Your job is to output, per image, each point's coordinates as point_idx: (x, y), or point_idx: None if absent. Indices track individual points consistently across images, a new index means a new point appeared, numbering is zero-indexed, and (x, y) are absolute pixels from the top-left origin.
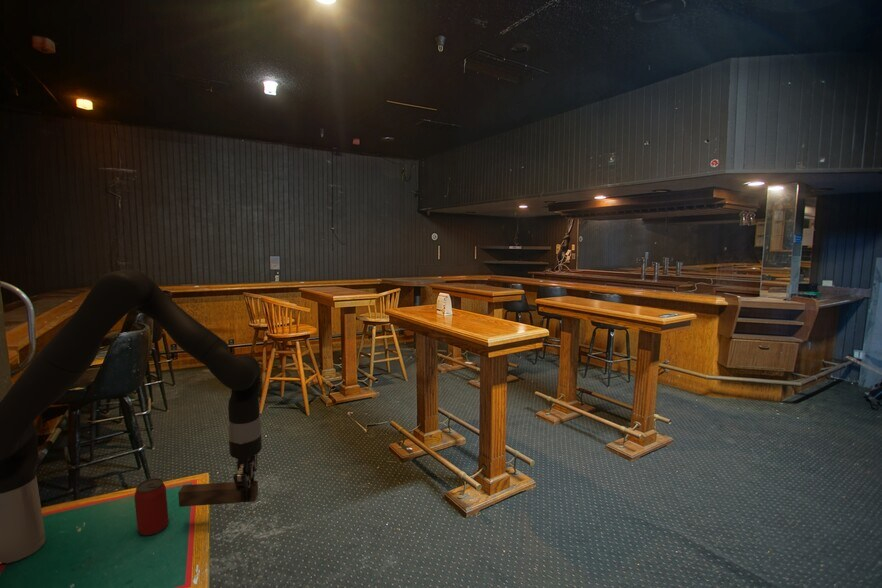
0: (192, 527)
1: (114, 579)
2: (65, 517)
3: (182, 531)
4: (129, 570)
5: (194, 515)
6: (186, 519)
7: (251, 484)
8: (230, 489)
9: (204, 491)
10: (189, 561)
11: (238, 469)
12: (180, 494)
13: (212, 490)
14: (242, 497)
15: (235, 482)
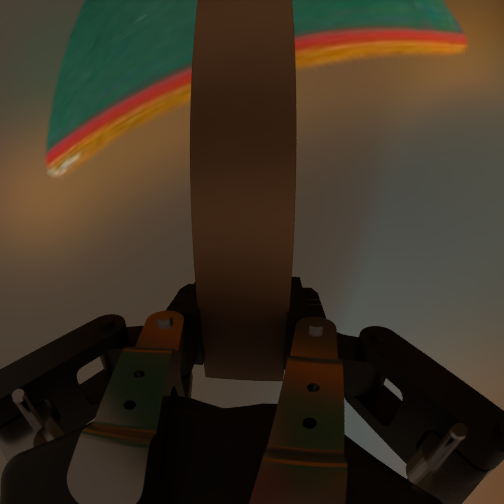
0: None
1: (84, 5)
2: None
3: None
4: (98, 10)
5: (308, 46)
6: None
7: (240, 359)
8: (193, 230)
9: (196, 41)
10: (90, 126)
11: (19, 453)
12: None
13: (193, 90)
14: (177, 297)
15: (16, 366)
